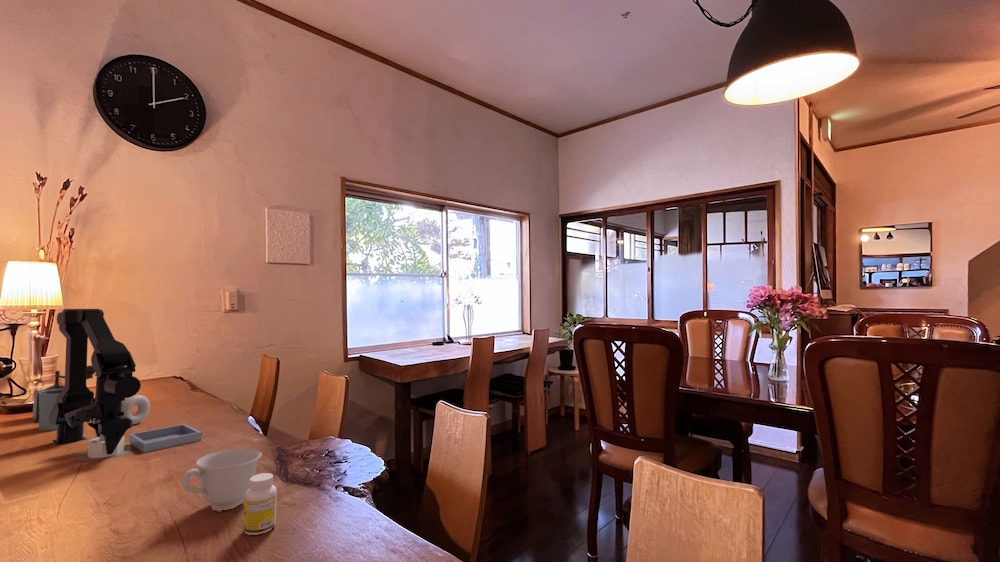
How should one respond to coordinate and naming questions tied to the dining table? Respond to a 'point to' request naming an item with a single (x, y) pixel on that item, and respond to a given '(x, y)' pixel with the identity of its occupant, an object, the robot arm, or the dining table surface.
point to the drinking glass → (47, 408)
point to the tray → (164, 437)
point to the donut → (142, 408)
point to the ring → (99, 449)
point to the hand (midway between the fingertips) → (106, 451)
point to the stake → (86, 458)
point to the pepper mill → (36, 395)
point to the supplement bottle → (260, 504)
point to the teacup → (224, 476)
